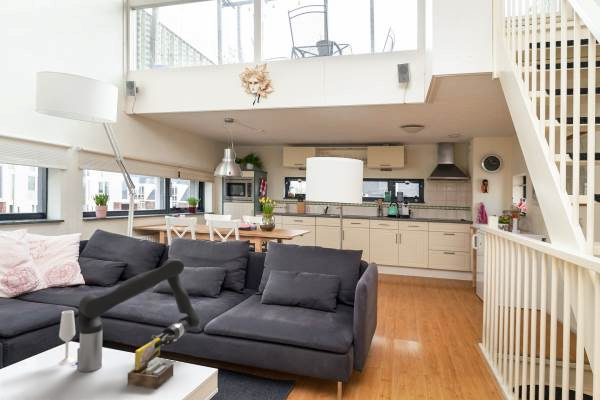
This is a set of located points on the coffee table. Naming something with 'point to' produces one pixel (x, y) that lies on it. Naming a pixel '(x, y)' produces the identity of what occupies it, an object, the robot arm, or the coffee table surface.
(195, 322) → the robot arm
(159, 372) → the slate offcut
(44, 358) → the coffee table surface
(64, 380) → the coffee table surface
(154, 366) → the sage offcut
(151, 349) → the candy box
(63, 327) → the champagne flute
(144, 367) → the offcut rack
